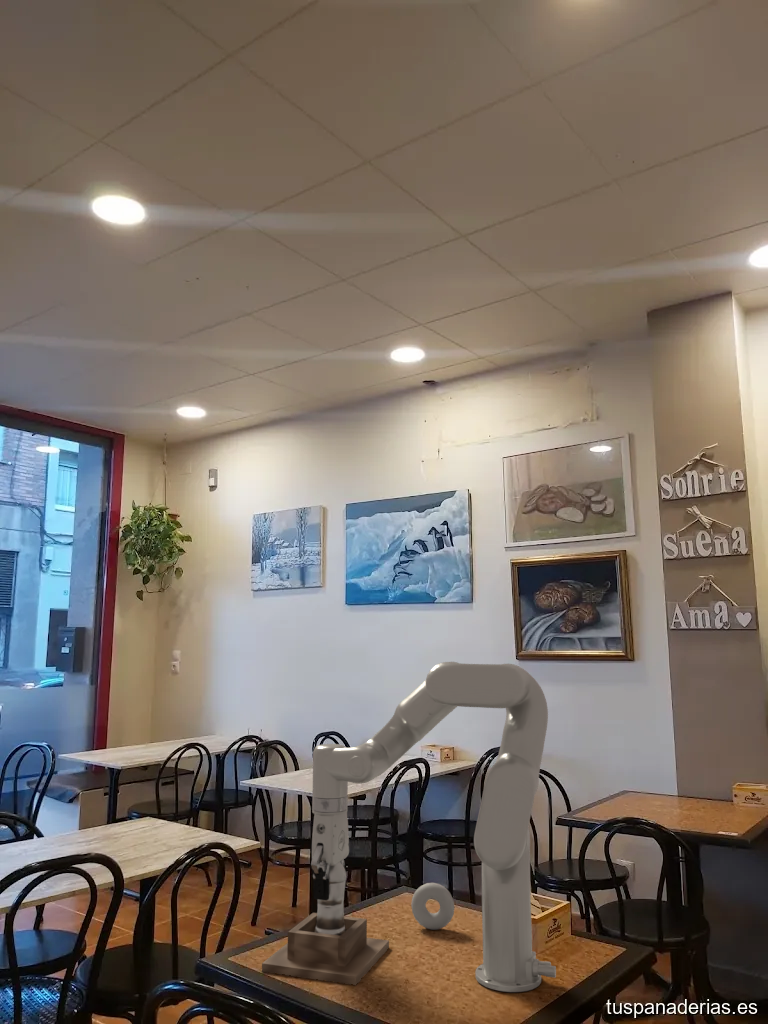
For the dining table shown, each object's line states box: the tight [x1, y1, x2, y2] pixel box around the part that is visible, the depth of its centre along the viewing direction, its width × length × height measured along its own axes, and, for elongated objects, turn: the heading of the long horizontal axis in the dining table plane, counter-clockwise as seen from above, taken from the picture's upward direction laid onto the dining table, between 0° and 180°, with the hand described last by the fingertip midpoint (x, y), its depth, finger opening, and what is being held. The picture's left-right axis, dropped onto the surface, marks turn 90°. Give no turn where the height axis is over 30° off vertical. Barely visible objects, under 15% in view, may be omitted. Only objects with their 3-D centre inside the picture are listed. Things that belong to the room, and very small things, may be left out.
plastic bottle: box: [315, 860, 347, 936], centre depth 161 cm, size 6×7×20 cm
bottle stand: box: [261, 912, 390, 986], centre depth 160 cm, size 20×20×6 cm
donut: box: [410, 882, 455, 931], centre depth 177 cm, size 10×4×10 cm, turn 80°
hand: (328, 892), depth 161 cm, fingers open, 7 cm apart
